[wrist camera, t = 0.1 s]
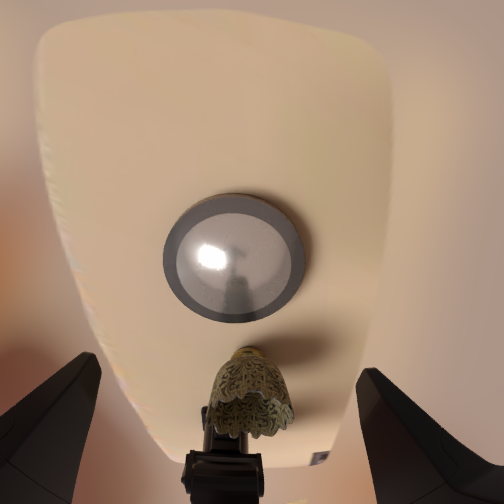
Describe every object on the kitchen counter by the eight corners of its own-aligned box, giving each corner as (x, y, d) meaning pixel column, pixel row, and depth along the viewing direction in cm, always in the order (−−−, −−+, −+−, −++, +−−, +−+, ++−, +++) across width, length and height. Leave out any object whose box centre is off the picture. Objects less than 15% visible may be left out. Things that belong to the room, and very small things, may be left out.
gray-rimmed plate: (291, 317, 26) (293, 326, 24) (170, 310, 25) (167, 319, 24) (312, 199, 21) (316, 204, 20) (164, 190, 20) (159, 194, 19)
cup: (293, 333, 27) (306, 401, 19) (276, 380, 30) (283, 440, 23) (215, 326, 26) (207, 395, 19) (209, 374, 29) (204, 436, 22)
